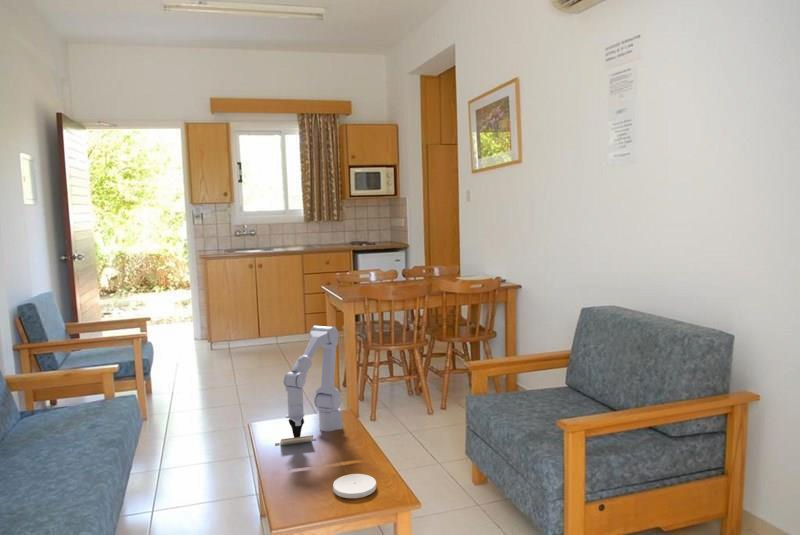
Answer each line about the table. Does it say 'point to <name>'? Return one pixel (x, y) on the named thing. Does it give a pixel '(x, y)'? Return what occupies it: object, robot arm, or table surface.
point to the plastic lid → (354, 486)
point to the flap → (296, 440)
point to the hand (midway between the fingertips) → (297, 437)
